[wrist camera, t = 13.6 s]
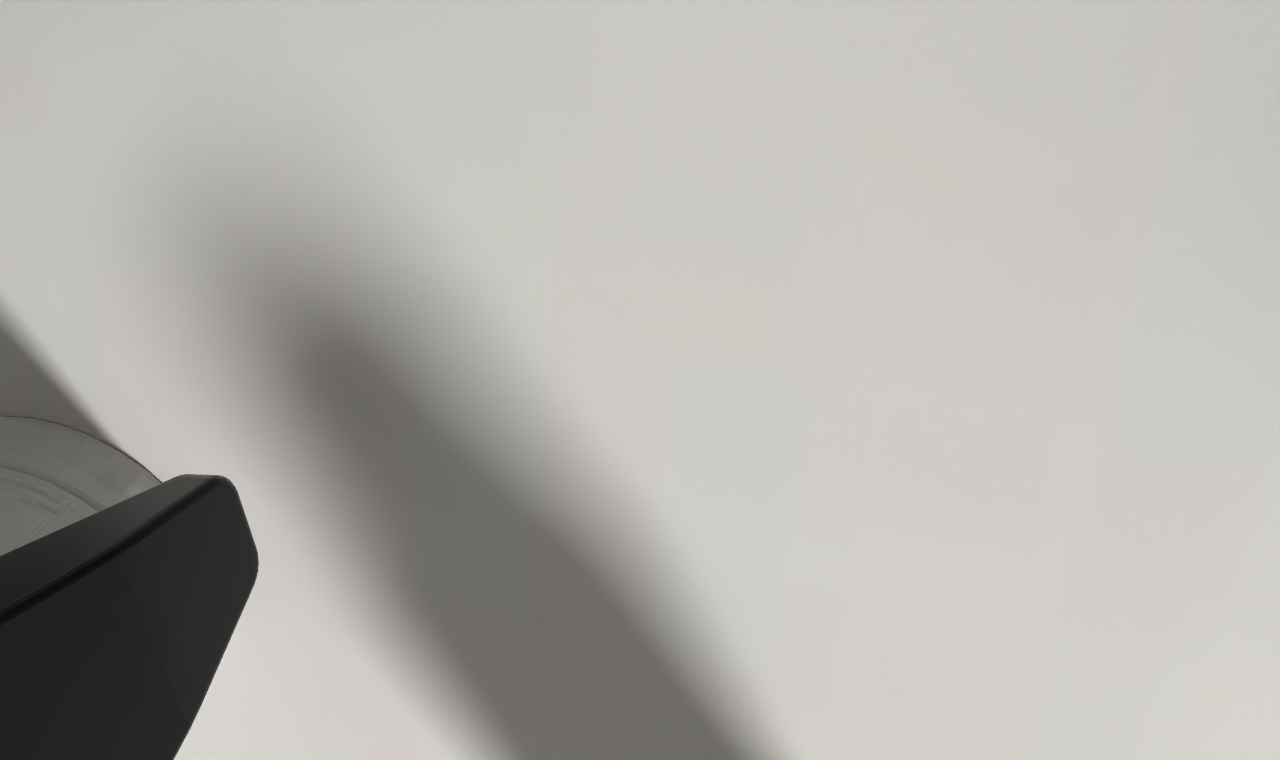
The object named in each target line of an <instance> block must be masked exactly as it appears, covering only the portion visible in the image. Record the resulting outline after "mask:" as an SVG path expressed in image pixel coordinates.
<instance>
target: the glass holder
mask: <svg viewBox="0 0 1280 760" xmlns="http://www.w3.org/2000/svg"><path fill="white" fill-rule="evenodd" d="M159 484H161V482H160V481H158V480H157V479H156V478H155V477H154V476H153V475H152V474H150V473H149V472H148V471H147V470H146V469H144V468H143V467H142V466H140V465H139V464H137V463H136V462H134V461H133V460H132V459H130V458H129V457H127V456H126V455H124V454H123V453H121V452H120V451H118V450H117V449H115V448H113V447H111V446H109V445H107V444H105V443H103V442H102V441H100V440H98V439H96V438H94V437H92V436H90V435H88V434H85V433H82V432H80V431H77V430H74V429H72V428H69V427H66V426H64V425H61V424H57V423H52V422H48V421H43V420H39V419H35V418H24V417H9V416H4V417H0V556H1V555H3V554H5V553H8V552H10V551H12V550H14V549H16V548H19V547H21V546H23V545H25V544H28V543H30V542H32V541H34V540H36V539H39V538H41V537H43V536H45V535H48V534H50V533H52V532H54V531H56V530H59V529H61V528H63V527H65V526H68V525H70V524H72V523H74V522H76V521H79V520H81V519H83V518H85V517H88V516H90V515H92V514H94V513H96V512H99V511H101V510H103V509H105V508H108V507H110V506H112V505H114V504H116V503H119V502H121V501H123V500H125V499H128V498H130V497H132V496H134V495H136V494H139V493H141V492H143V491H145V490H148V489H150V488H152V487H154V486H156V485H159Z"/></svg>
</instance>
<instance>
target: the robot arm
mask: <svg viewBox="0 0 1280 760" xmlns="http://www.w3.org/2000/svg"><path fill="white" fill-rule="evenodd" d="M258 563H259V562H258V553H257V549H256V546H255V543H254V540H253V537H252V534H251V531H250V528H249V525H248V522H247V519H246V516H245V513H244V510H243V507H242V504H241V501H240V498H239V495H238V492H237V490H236V487H235V486H234V485H233V483H232V482H231V481H230V480H229V479H227V478H225V477H223V476H220V475H194V474H185V475H180V476H177V477H174V478H172V479H170V480H168V481H165V482H163V483H161V484H159V485H156V486H154V487H152V488H150V489H148V490H145V491H143V492H141V493H139V494H136V495H134V496H132V497H130V498H128V499H125V500H123V501H121V502H119V503H116V504H114V505H112V506H110V507H108V508H105V509H103V510H101V511H99V512H96V513H94V514H92V515H90V516H88V517H85V518H83V519H81V520H79V521H76V522H74V523H72V524H70V525H68V526H65V527H63V528H61V529H59V530H56V531H54V532H52V533H50V534H48V535H45V536H43V537H41V538H39V539H36V540H34V541H32V542H30V543H28V544H25V545H23V546H21V547H19V548H16V549H14V550H12V551H10V552H8V553H5V554H3V555H1V556H0V760H174V758H175V756H176V754H177V752H178V751H179V749H180V747H181V745H182V743H183V741H184V739H185V737H186V736H187V734H188V732H189V730H190V728H191V726H192V724H193V721H194V719H195V717H196V715H197V713H198V711H199V709H200V707H201V704H202V702H203V700H204V698H205V695H206V693H207V691H208V689H209V686H210V684H211V682H212V679H213V677H214V675H215V673H216V670H217V668H218V666H219V664H220V661H221V659H222V657H223V654H224V652H225V650H226V648H227V645H228V643H229V641H230V638H231V636H232V634H233V632H234V629H235V627H236V625H237V623H238V620H239V618H240V616H241V613H242V611H243V609H244V607H245V604H246V602H247V600H248V598H249V595H250V593H251V591H252V588H253V586H254V584H255V581H256V577H257V573H258Z"/></svg>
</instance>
